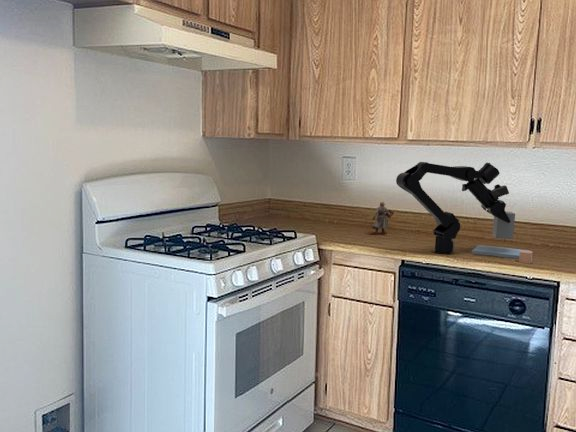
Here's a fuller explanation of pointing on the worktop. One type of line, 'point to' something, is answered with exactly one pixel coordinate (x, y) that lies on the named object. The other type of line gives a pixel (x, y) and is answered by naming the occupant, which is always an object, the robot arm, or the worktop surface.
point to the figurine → (381, 218)
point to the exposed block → (525, 257)
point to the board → (497, 251)
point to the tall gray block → (504, 227)
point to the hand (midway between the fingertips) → (507, 221)
